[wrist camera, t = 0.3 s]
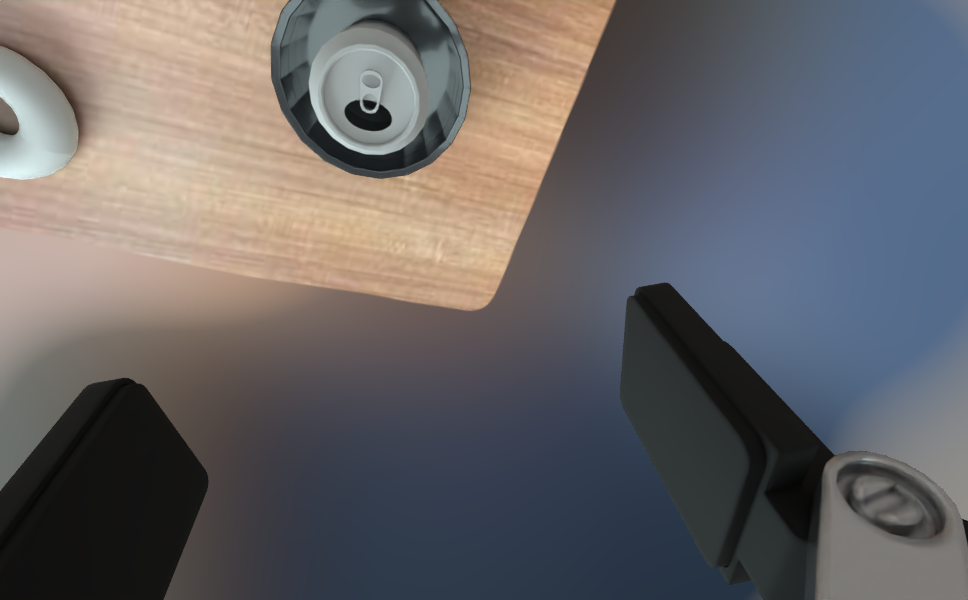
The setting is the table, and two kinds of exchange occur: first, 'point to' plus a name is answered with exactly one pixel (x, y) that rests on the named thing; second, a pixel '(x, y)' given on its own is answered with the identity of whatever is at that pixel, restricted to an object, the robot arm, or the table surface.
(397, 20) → the pot
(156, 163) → the table surface
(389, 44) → the can
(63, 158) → the donut
